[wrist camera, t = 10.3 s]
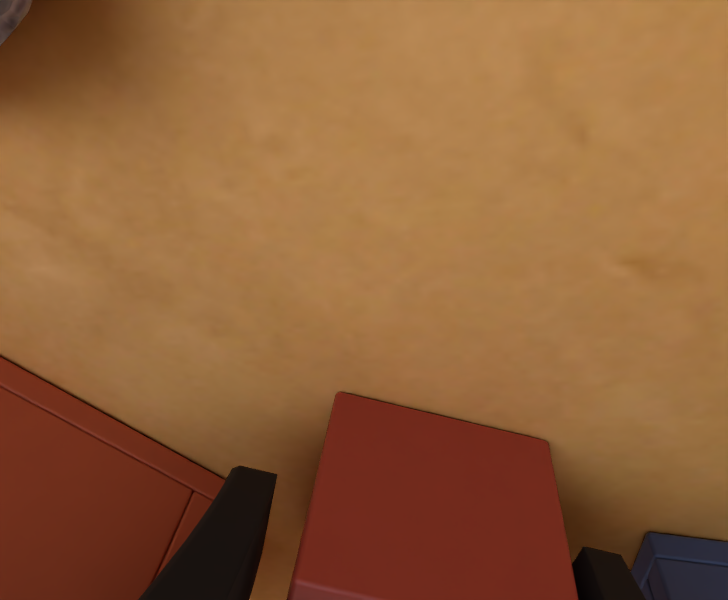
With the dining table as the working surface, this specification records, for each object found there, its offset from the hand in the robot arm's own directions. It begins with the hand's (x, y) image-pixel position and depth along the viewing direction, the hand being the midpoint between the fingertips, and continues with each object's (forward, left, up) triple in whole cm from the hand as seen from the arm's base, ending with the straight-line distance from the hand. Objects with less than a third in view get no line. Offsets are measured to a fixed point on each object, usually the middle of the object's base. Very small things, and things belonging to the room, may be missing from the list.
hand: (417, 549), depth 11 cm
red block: (-1, 0, -2) cm, 2 cm away
